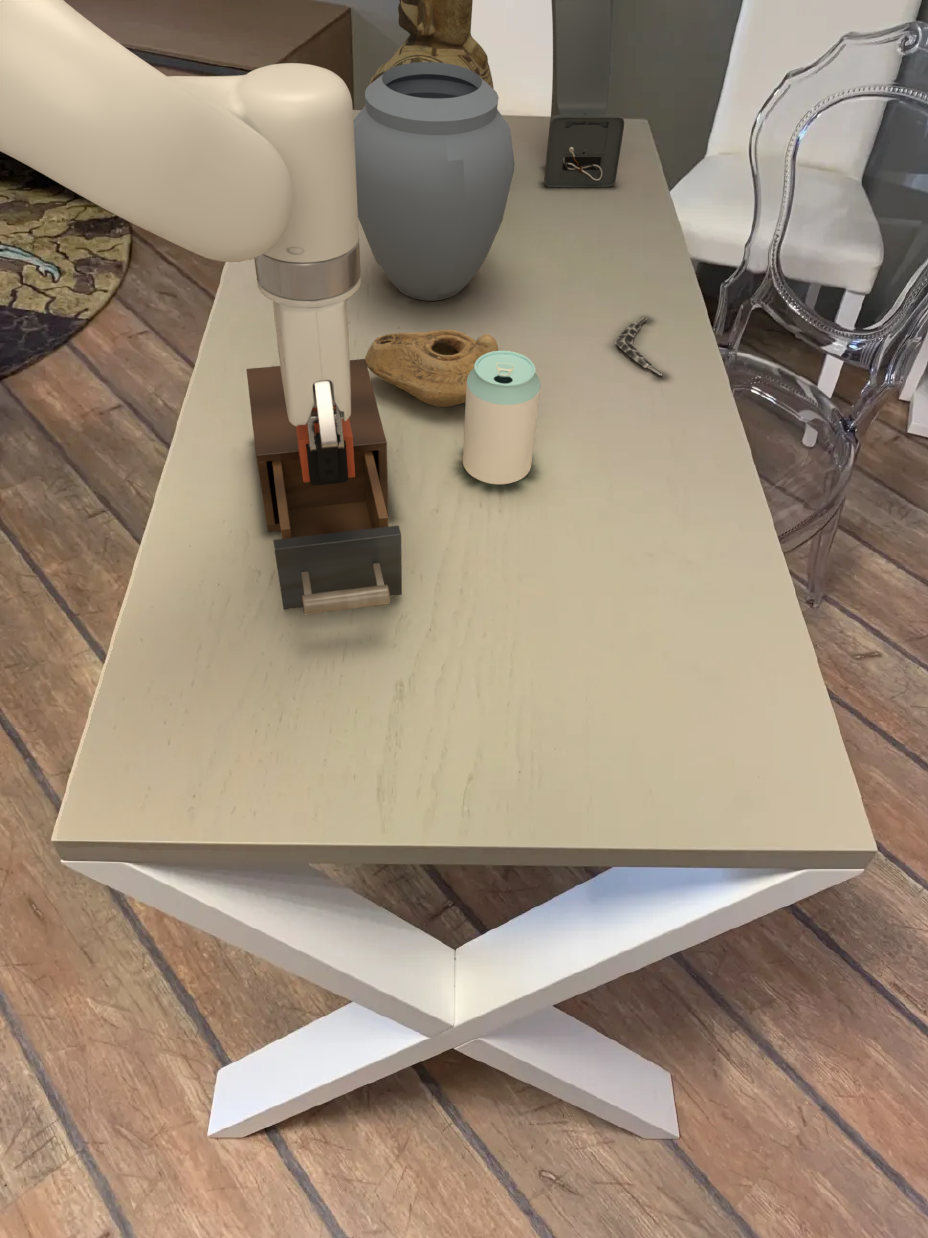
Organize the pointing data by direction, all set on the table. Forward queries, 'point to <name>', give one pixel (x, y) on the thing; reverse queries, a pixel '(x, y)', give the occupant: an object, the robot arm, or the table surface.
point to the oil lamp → (429, 363)
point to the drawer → (335, 540)
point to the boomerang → (627, 346)
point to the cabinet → (280, 435)
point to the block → (303, 435)
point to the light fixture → (582, 98)
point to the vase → (431, 175)
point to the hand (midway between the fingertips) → (325, 460)
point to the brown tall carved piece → (438, 37)
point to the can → (500, 417)
